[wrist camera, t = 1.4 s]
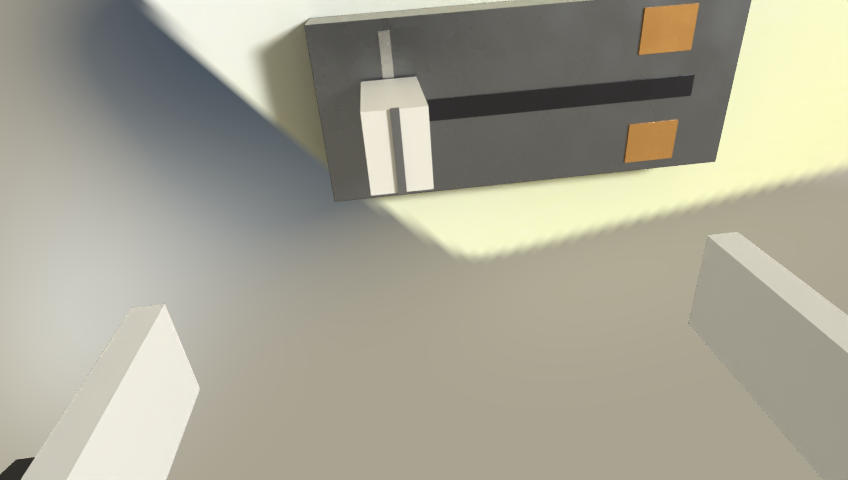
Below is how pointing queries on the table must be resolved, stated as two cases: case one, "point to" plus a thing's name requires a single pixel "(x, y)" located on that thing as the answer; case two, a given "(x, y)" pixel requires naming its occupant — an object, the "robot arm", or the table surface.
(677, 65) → the fader panel
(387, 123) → the fader
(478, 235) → the table surface
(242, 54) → the table surface
